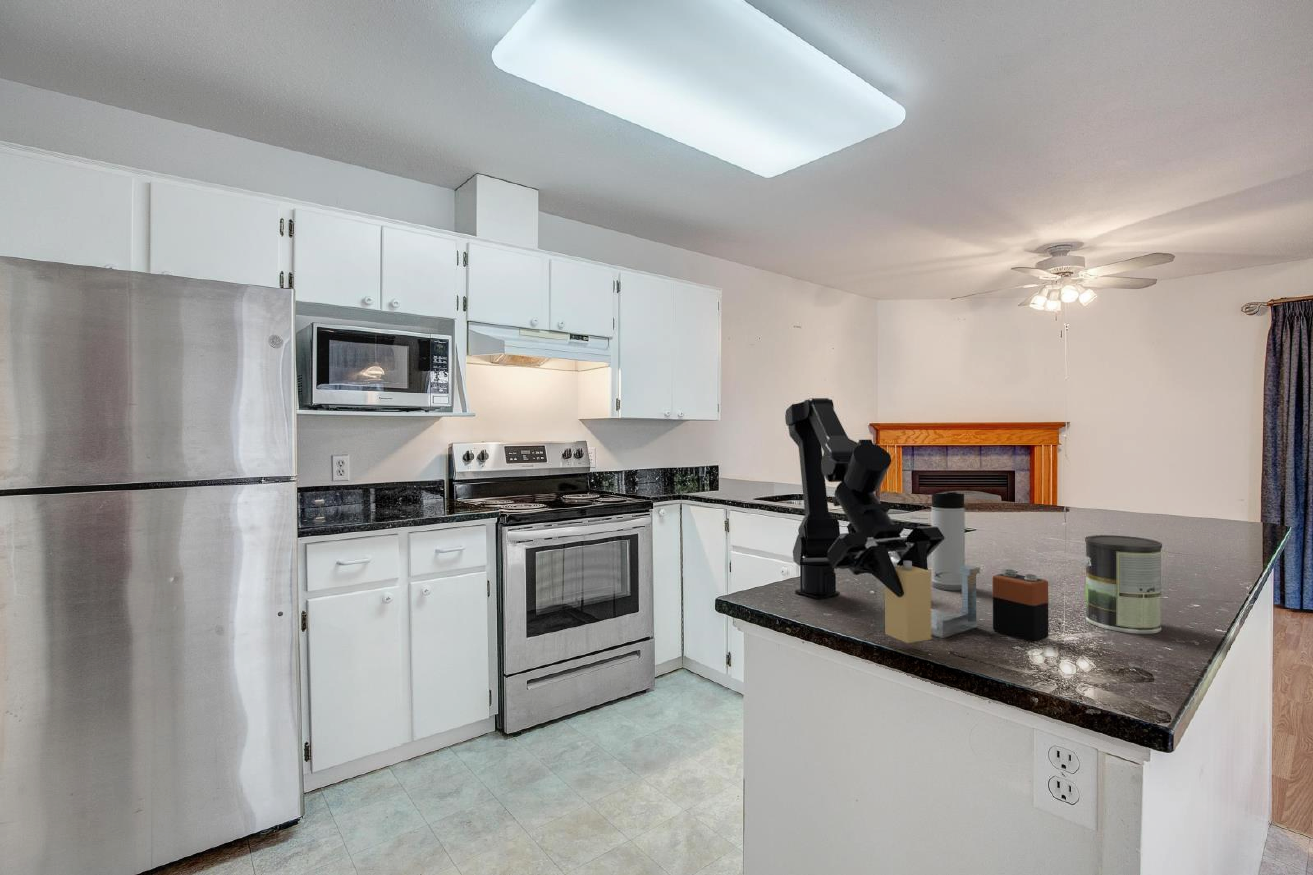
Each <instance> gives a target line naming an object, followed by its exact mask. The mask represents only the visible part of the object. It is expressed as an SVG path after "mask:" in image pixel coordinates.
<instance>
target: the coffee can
mask: <svg viewBox="0 0 1313 875" xmlns="http://www.w3.org/2000/svg"><path fill="white" fill-rule="evenodd" d="M1084 542H1085V600H1086V602H1085V614H1086V615H1085V621H1086V622H1087V623H1089V624H1091V625H1092V626H1096V627H1098V628H1101V629H1104V630H1109V631H1113V632H1118V633H1125V634H1126V633H1127V634H1134V635H1135V634H1136V635H1137V634H1138V635H1149V634H1151V635H1152V634H1157V633H1160V632H1161V631H1162V620H1161V619H1162V548H1163V543H1162V542H1161V541H1158V540H1154V539H1151V538H1150V539H1149V538H1144V537H1137V536H1130V535H1129V536H1127V535H1112V534H1111V535H1110V534H1104V535H1103V534H1101V535H1087V536H1086V537H1085V538H1084Z"/></svg>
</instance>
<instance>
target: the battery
mask: <svg viewBox="0 0 1313 875" xmlns="http://www.w3.org/2000/svg"><path fill="white" fill-rule="evenodd" d="M1001 571H1002V573H999V574H994V575H993V576H992V630H993V631H994V632H996V633H1000V634H1003V635H1006V636H1009V637H1012V638H1013V637H1014V638H1017V639H1020V640H1025V641H1028V642H1033V643H1034V642H1037V641H1041V640H1045V639H1047V638H1049V582H1048V580H1046V579H1044V578H1043V579H1042V578H1038V577H1037V575H1036V574H1032V573H1025V574H1024V575H1023V574H1019V571H1018V570H1017V569H1013V568H1003V569H1001Z"/></svg>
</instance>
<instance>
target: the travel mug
mask: <svg viewBox="0 0 1313 875" xmlns="http://www.w3.org/2000/svg"><path fill="white" fill-rule="evenodd" d="M965 513H966V512H965V493H957V492H956V491H947V492H946V493H931V513H930V514H931V520H930V521H931V522H930V523H931V526H934V527H938V528H939V530H940V531H941V533H942V534H943V536H944V537H945V539H944V540H943V541H942V542H941V543H940V544H939V545H938V546H937V547H936V548H935V550H934V551H933V552H932V553H931V587H933V588H935V589H938V590H942V591H949V592H950V591H956V592H957V591H962V574H958V567H962V566H966V548H965V547H966V544H965V543H966V542H965V541H966V539H965V538H966V537H965V534H966V529H965V528H966V525H965V524H966V523H965V520H966V519H965Z"/></svg>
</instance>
